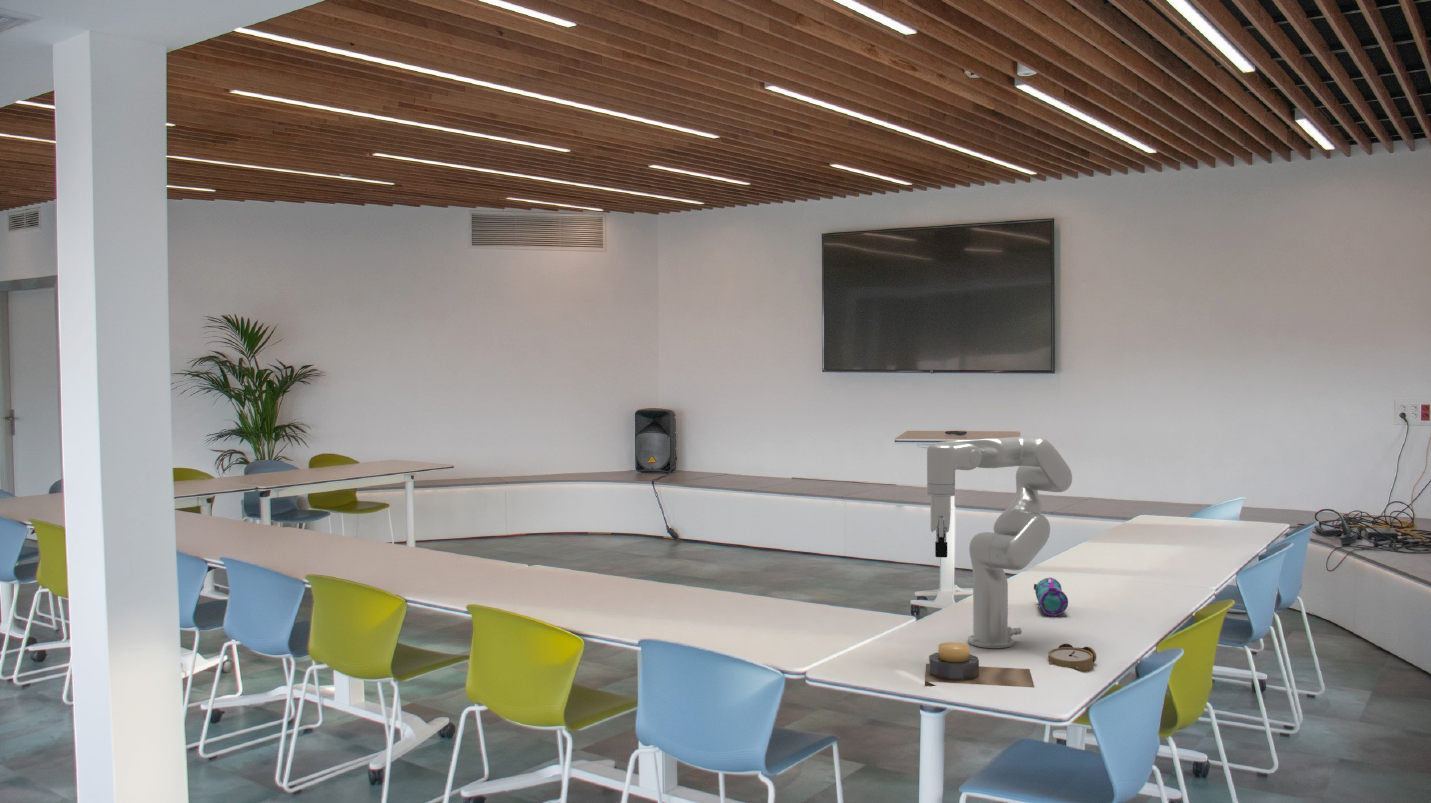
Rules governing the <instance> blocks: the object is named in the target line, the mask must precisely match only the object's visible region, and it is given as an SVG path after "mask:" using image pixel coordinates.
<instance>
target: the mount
mask: <svg viewBox="0 0 1431 803" xmlns="http://www.w3.org/2000/svg"><path fill="white" fill-rule="evenodd" d="M1032 676H1033V675H1032V673H1031V669H1030V668H1021V667H1020V668H1018V667H1017V668H1016V667H998V666H995V667H994V666H980V665H979V676H978V677H977V678H975V679H972V680H965V681H952V680H944V679H939V678H936V677H934V676H932V675H930V672H929V663H926V664H925V675H924V687H932V686H937V685H935V684H934V683H949V684H965V685H966V684H967V685H984V686H986V685H987V686H1000V687H1001V686H1004V687H1023V688H1035V684H1034V680H1033V677H1032Z"/></svg>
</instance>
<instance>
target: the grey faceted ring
mask: <svg viewBox="0 0 1431 803" xmlns="http://www.w3.org/2000/svg"><path fill="white" fill-rule="evenodd" d="M928 660H929V661H928V664H929V672H930V675H932V676H934V677H936V678H939V679H944V680H952V681H965V680H972V679H975V678H977V677H978V676H979V666H980V661H979V660H980V659H979V657H978V656H976V655H974V654H971V653H969V660H968V661H965V662H948V661H944V660H941V659H939V656H938V652H934V653H932V654H930V655H929V656H928Z"/></svg>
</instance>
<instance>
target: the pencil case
mask: <svg viewBox="0 0 1431 803" xmlns="http://www.w3.org/2000/svg"><path fill="white" fill-rule="evenodd" d="M1033 590H1034V593H1035V596H1036V600H1037V601H1038V605H1039V606H1040V609H1041V610H1042V612H1044V614H1046V615H1047V616H1049V617H1057V616H1060V615H1062V614H1063V613H1064V612H1065V611H1066V609H1067V608H1068V607H1069V599H1068V596H1067V595H1066V594H1065V592H1064V591H1062V585H1061V583H1060V582H1059V581H1058V580H1057V579H1056V578H1053V577H1051V576H1049V577H1045V578H1043V579H1041V580H1039V581H1038V582H1037V583H1033Z"/></svg>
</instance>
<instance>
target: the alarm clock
mask: <svg viewBox="0 0 1431 803" xmlns="http://www.w3.org/2000/svg"><path fill="white" fill-rule="evenodd" d="M1047 654H1048V655H1047V659H1048V662H1049V664H1048V665H1056V666H1059V667H1063V668H1064V667H1065V668H1068V669H1071V670H1074V671H1077V672H1080V673H1086V672H1089V671H1091V670H1093V669H1094V663H1095V662H1096V661H1097V653H1096V651H1095V649H1093V647H1090V646H1083V647H1078V646H1077V647H1075V646H1074V645H1072V644H1069V643H1065V642H1064V643H1062V644H1060V645H1059V646H1058V647H1056V648H1052V649H1051V650H1049V651H1048V653H1047Z"/></svg>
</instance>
